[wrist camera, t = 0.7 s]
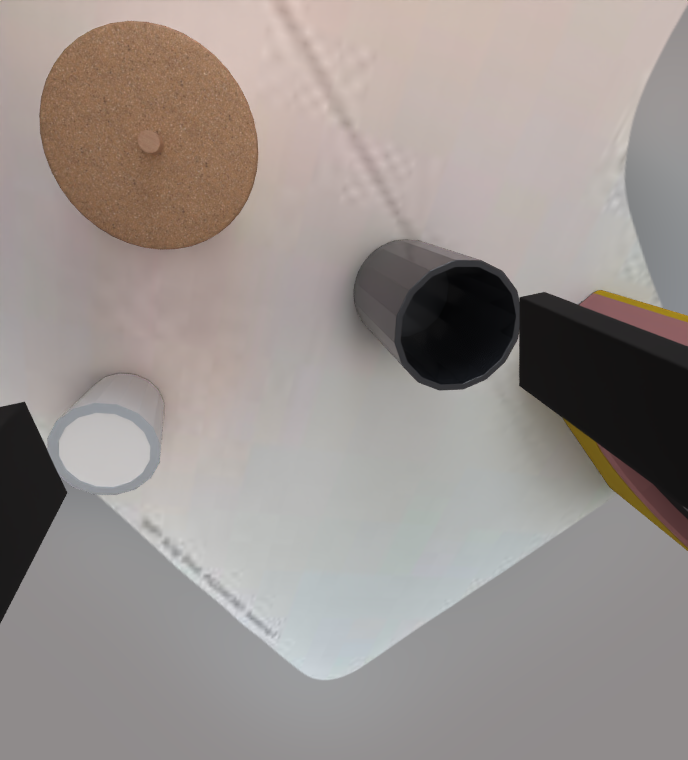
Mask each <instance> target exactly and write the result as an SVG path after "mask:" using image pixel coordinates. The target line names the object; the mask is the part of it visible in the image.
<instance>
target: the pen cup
mask: <svg viewBox="0 0 688 760" xmlns="http://www.w3.org/2000/svg"><path fill="white" fill-rule="evenodd" d="M354 301H355V306H356V310H357V312H358V315H359V317H360V318H361V321H362V322H363V323H364V324H365V326H366V327H367V328H368V329H369V330H370V331H371V332H372V333H373V334H374V335H375V337H376V338H377V339H378V340H379V341H380V342H381V343H382V344H383V345H384V346H385V347H386V349H387V350H388V351H389V352H390V353H391V354H392V355H393V356H394V357H395V358H396V360H397V361H398V362H399V363H400V364H401V365H402V366H403V367H404V368H405V369H406V370H407V371H408V372H409V373H410V375H411V376H412V377H413V378H414V379H415V380H416V381H417V382H419V383H421V384H424V385H427V386H429V387H432V388H434V389H437V390H458V389H465V388H467V387H470V386H472V385H474V384H477V383H479V382H481V381H484V380H486V379H487V378H488V377H489V376H490V375H491V374H493V373H494V372H495V371H496V370H497V369H498V368H499V367H500V366H501V365H502V364H504V363H505V361H506V360H507V358H508V356H509V354H510V352H511V351H512V349H513V347H514V345H515V343H516V342H517V339H518V335H519V329H520V302H519V297H518V292H517V290H516V288H515V287H514V286H513V284H512V283H511V282H510V280H509V279H508V277H507V276H506V275H505V273H504V272H503V271H502V270H500V269H498V268H496V267H494V266H492V265H490V264H488V263H486V262H484V261H482V260H479V259H475V258H472V257H469V256H466V255H463V254H460V253H457V252H454V251H451V250H447V249H444V248H441V247H438V246H435V245H432V244H429V243H426V242H422V241H419V240H408V239H405V240H396V241H392V242H389V243H387V244H385V245H383V246H381V247H379V248H378V249H376V250H375V251H374V252H373V253H372V254H370V256H369V257H368V258H367V259H366V260H365V262H364V263H363V264H362V266H361V268H360V270H359V272H358V274H357V277H356V281H355V285H354Z"/></svg>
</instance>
